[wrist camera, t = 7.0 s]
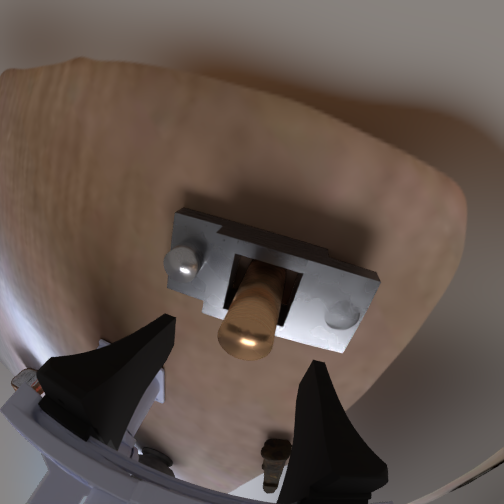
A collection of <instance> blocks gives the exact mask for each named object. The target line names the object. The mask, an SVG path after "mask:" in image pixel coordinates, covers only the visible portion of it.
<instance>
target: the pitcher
mask: <svg viewBox="0 0 504 504" xmlns="http://www.w3.org/2000/svg"><path fill="white" fill-rule="evenodd" d="M142 453H143V455H141V454H138V455H139V460H138V462H140V463H142V464H144V465H146V466H148V467H150V468H153V469H155V470H157V471H160V472H162V473H165V474H167V475H170V476H172V477H175V475H174V473H173V471H172V470H171V469H170V468H169V467H170V466H172V465H173V463H172V461H171V460H170V459H169V458H168V457H167V456H165V455H164V454H162V453H160V452H158V451H156V450H153V449H150V448H143V449H142ZM130 477H133V478H135V479H137V480H140V481H141V480H142V479H140V478H138V477H136V476H134V475H131V476H130Z"/></svg>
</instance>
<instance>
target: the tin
mask: <svg viewBox="0 0 504 504" xmlns="http://www.w3.org/2000/svg"><path fill="white" fill-rule="evenodd" d="M36 372H37V370H34V369H31V368H27V369H24V370H22V371H21V372H20V373H19V374H18V375H17V376H15V377H14V378H13V379H12V381H11V385H12V386H13V388H14V390H15V391H16V390H17V389H18V388H19V387H20V386H21V385H22V384H23V383H24V382H26V383H27V384H28V385H29V386H31V387H32V388H33V389H34V390H35V391H36V392H37V393H39V394H40V395H41V394H42V393H43V392H44V391H43V389H42V387H41V385H40V383H39V382H38V379H37V377H36Z"/></svg>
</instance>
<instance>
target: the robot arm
mask: <svg viewBox="0 0 504 504" xmlns="http://www.w3.org/2000/svg"><path fill="white" fill-rule="evenodd" d="M175 324H176V317H173V316H170V315H168V314H163V315H162V316H160V317H159V318H157V319H156V320H154V321H153V322H151V323H149V324H148V325H146V326H145V327H143V328H141V329H140V330H138V331H136V332H134V333H133V334H131V335H129V336H127V337H125V338H123V339H121V340H119V341H117V342H114V343H112V344H110V343H108V342H106V341H104V340H102V339H100V340H99V346H98V348H97V349H95V350H92V351H89V352H85V353H80V354H75V355H69V356H59V357H51V358H50V359H49V360H48V361H46V363H45V364H44V365H43V366H42V367H41V368H40V369H39V370H38V371H37V372H36V377H37V379H38V382H39V383H40V385H41V387H42V389H43V391H44V392H45V394H46V395H45V396H44V397H43V398H42V397H41V396H40V394H39V393H37V392H36V391H35V390H34V389H33V388H32V387H31V386H29V385H28V384H27V383H26V382H24V383H23V384H22V385H21V386H20V387H19V388H18V389H17V390H16V392H15V393H14V394H13V395H12V396H11V397H10V398H9V400H8V401H7V402H6V403H5V404H4V405H3V406H2V408H1V409H0V411H1V413H2V414H3V415H4V416H5V418H6V419H7V420H8V421H9V422H10V423H11V424H12V426H13V427H14V428H15V429H16V430H17V431H18V432H19V433H20V434H21V435H22V436H23V437H24V438H25V439H26V440H27V441H28V442H30V443H31V444H32V445H33V446H34V447H35V448H36V449H37V450H39V451H40V452H41V454H42V456H43V459H44V461H45V463H46V465H47V468H48V472H47V473H46V474H45V476H44V478H43V479H42V480H41V482H40V483H39V485H38V486H37V488H36V489H35V491H34V492H33V494H32V495H31V497H30V498H29V500H28V502H27V503H26V504H79V503H80V502H81V500H82V499H83V497H84V496H88V497H87V499H86V500H85V502H84V504H368V500H369V499H371V492H373V491H375V490H377V489H379V488H381V487H383V486H384V485H386V483H387V482H388V468H387V465H386V463H384V462H383V461H382V460H381V459H380V458H379V457H378V456H377V455H376V454H375V453H374V452H373V451H372V450H371V449H370V448H369V447H368V446H367V444H366V443H365V442H364V441H363V439H362V438H361V437H360V435H359V434H358V433H357V431H356V430H355V428H354V427H353V425H352V424H351V422H350V420H349V419H348V417H347V415H346V413H345V411H344V409H343V407H342V405H341V403H340V401H339V399H338V396H337V394H336V391H335V389H334V387H333V384H332V381H331V379H330V376H329V373H328V370H327V367H326V365H325V363H324V362H320V361H316V360H313V361H312V363H311V365H310V366H309V368H308V370H307V372H306V373H305V375H304V377H303V379H302V380H301V382H300V384H299V389H298V394H297V399H296V411H295V426H294V438H293V445H292V450H291V454H290V459H289V463H288V467H287V471H286V475H285V478H284V482H283V485H282V489H281V491H280V495H279V497H278V500H277V503H269V502H263V501H258V500H252V499H247V498H242V497H238V496H233V495H230V494H226V493H222V492H218V491H214V490H211V489H208V488H204V487H201V486H198V485H195V484H192V483H189V482H186V481H183V480H180V479H178V478H175V477H172V476H170V475H167V474H165V473H162V472H160V471H157V470H155V469H153V468H150V467H148V466H146V465H144V464H142V463H140V462H138V460H139V455H138V450H137V448H136V447H135V446H134V445H135V443H136V441H137V440H136V439H134V438H133V437H134V435H135V434H136V432H137V430H138V428H139V427H140V425H141V423H142V421H143V420H144V418H145V416H146V414H147V413H148V411H149V409H150V407H151V406H152V404H153V402H154V400H155V401H158V402H160V403H164V401H165V394H164V369H163V368H161V367H162V366H163V365H164V363H165V362H166V360H167V358H168V356H169V354H170V352H171V350H172V348H173V346H174V338H175ZM131 475H134V476H136V477H138V478H140V479H142V480H141V481H140V480H137V479H135V478H133V477H130V476H131ZM371 504H393V502H392V501H389V502H379V503H371Z"/></svg>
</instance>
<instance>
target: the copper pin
mask: <svg viewBox="0 0 504 504" xmlns="http://www.w3.org/2000/svg"><path fill="white" fill-rule="evenodd" d="M285 280H286V270H285V268H283V267H279V266H276V265H273V264H269V263H266V262H262V261H259V260H256V259H254V260H253V261H252V262H251V264H250V265H249V268H248V270H247V272H246V274H245V276H244V278H243V280H242V282H241V284H240V286H239V289H238V291H237V293H236V295H235V297H234V299H233V301H232V303H231V305H230V307H229V309H228V312H227V314H226V316H225V318H224V320H223V322H222V324H221V326H220V328H219V331H218V341H219V343H220V345H221V347H222V348H223V349H224V350H225V351H226V352H227V353H228V354H230V355H232V356H233V357H236V358H238V359H242V360H248V361H253V360H259V359H261V358H264V357H265V356H267V355H268V354H269V353H270V351H271V349H272V346H273V342H274V337H275V332H276V327H277V322H278V317H279V312H280V307H281V301H282V296H283V291H284V285H285Z"/></svg>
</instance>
